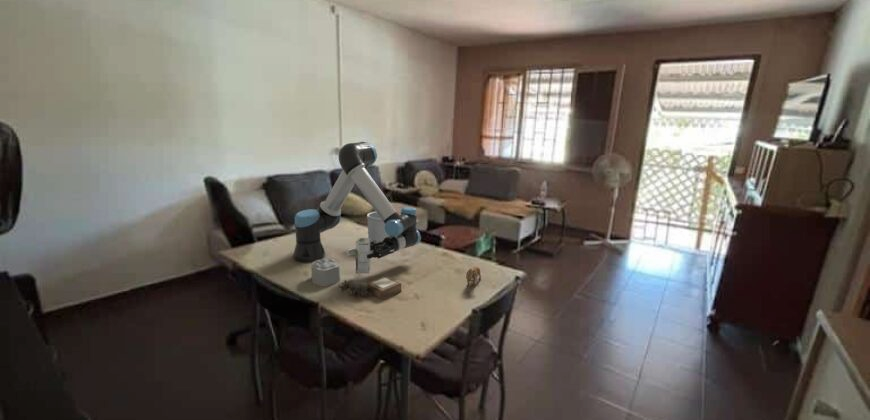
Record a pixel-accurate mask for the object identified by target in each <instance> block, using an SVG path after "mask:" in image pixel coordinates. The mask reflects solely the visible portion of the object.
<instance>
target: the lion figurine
mask: <svg viewBox="0 0 870 420" xmlns="http://www.w3.org/2000/svg"><path fill="white" fill-rule="evenodd" d="M465 278H466V282H467V284H466V287H468V288H469V287H470V283H472V288H476V280H477V278H478V280H479V281H481V280H482V275H481V269H480V267H479V266H474V267H472V268H469V269H468V270H467V272H466V276H465Z"/></svg>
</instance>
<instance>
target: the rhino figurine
mask: <svg viewBox="0 0 870 420" xmlns="http://www.w3.org/2000/svg"><path fill="white" fill-rule="evenodd" d="M341 283H342V284H341V286H340V285H338V287H339V288H340V289H341V292H345V291H348V290H349V291H350V292H351V293H350V294H349V295H350V297H353V296H354V295H357V294H358V293H360V292H361V293H362V295H360V296H361V297H360V298H362V299H364V298H366V296H367V297H371V295H372V294H370V290H369V289H370V288H369V285H368V284H367V283H368V282H365V281H355V280H354V279H353V280H352V279H350V280H348V281H347V280H344V282H341Z"/></svg>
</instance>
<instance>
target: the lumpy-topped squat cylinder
mask: <svg viewBox="0 0 870 420" xmlns="http://www.w3.org/2000/svg"><path fill="white" fill-rule="evenodd" d="M310 265H311V266H310V269H311V281H312V283H313V284H314V285H317V286H320V287H328V286H331V285H334V284H337V283H340V282H341V272H340V271H341V268H340V263H338V262H337V261H336V260H335V259H334V258H331V259H326V258H325V257H324V258H322V259H320V260H316V261H312V262H311V264H310Z"/></svg>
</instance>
